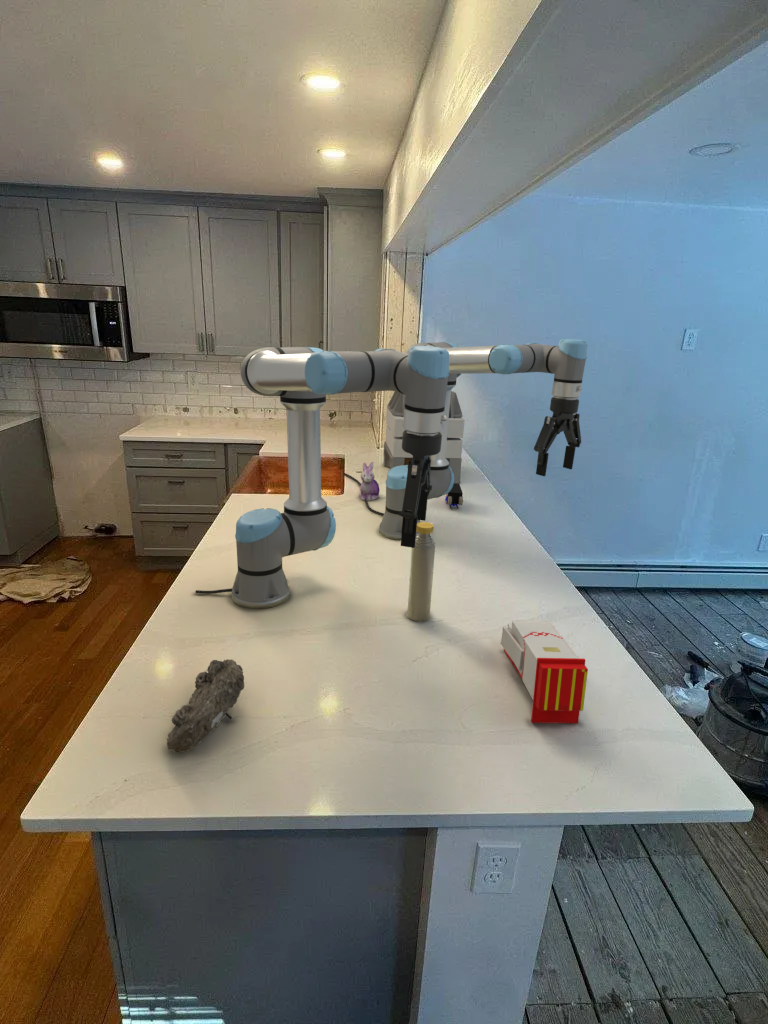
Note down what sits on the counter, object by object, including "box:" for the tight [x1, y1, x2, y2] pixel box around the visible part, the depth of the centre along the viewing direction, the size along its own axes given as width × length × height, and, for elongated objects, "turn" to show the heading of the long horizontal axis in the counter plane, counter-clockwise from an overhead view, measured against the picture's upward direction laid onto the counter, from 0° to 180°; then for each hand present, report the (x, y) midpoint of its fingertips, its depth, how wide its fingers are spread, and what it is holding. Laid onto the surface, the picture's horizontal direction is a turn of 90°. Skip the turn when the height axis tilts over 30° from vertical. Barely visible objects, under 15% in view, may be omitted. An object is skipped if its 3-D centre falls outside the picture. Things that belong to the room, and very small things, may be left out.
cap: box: [416, 521, 434, 535], centre depth 139 cm, size 4×4×2 cm
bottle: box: [407, 533, 436, 622], centre depth 143 cm, size 6×6×25 cm
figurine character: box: [444, 483, 464, 510], centre depth 231 cm, size 7×8×15 cm
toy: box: [500, 620, 589, 724], centre depth 121 cm, size 12×13×30 cm
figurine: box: [359, 461, 381, 502], centre depth 233 cm, size 9×10×15 cm
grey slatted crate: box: [383, 390, 465, 484], centre depth 268 cm, size 34×33×41 cm
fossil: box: [166, 658, 245, 754], centre depth 106 cm, size 22×10×15 cm
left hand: (413, 532), depth 116 cm, fingers open, 13 cm apart
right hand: (554, 471), depth 164 cm, fingers open, 13 cm apart
